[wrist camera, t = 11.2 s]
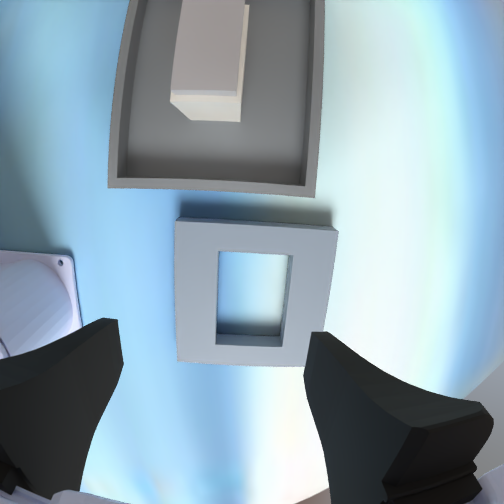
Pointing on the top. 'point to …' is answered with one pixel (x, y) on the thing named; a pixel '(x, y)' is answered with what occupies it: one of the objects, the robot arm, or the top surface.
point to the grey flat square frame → (206, 289)
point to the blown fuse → (210, 59)
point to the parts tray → (221, 132)
